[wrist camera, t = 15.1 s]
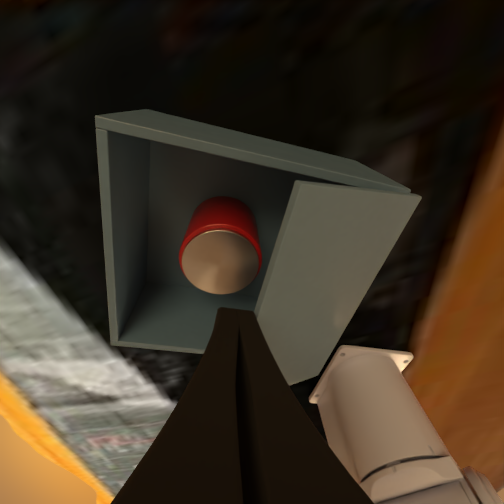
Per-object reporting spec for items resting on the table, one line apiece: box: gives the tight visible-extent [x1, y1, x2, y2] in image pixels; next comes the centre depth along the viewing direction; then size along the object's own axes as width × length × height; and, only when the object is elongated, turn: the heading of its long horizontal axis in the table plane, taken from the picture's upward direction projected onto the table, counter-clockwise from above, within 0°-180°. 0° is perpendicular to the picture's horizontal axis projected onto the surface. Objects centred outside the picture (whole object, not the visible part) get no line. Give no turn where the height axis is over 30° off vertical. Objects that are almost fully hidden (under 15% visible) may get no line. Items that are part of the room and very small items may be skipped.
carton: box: [95, 109, 411, 354], centre depth 15 cm, size 12×12×6 cm
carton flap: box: [254, 180, 422, 385], centre depth 12 cm, size 6×12×1 cm, turn 167°
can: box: [179, 196, 262, 294], centre depth 15 cm, size 4×4×4 cm
